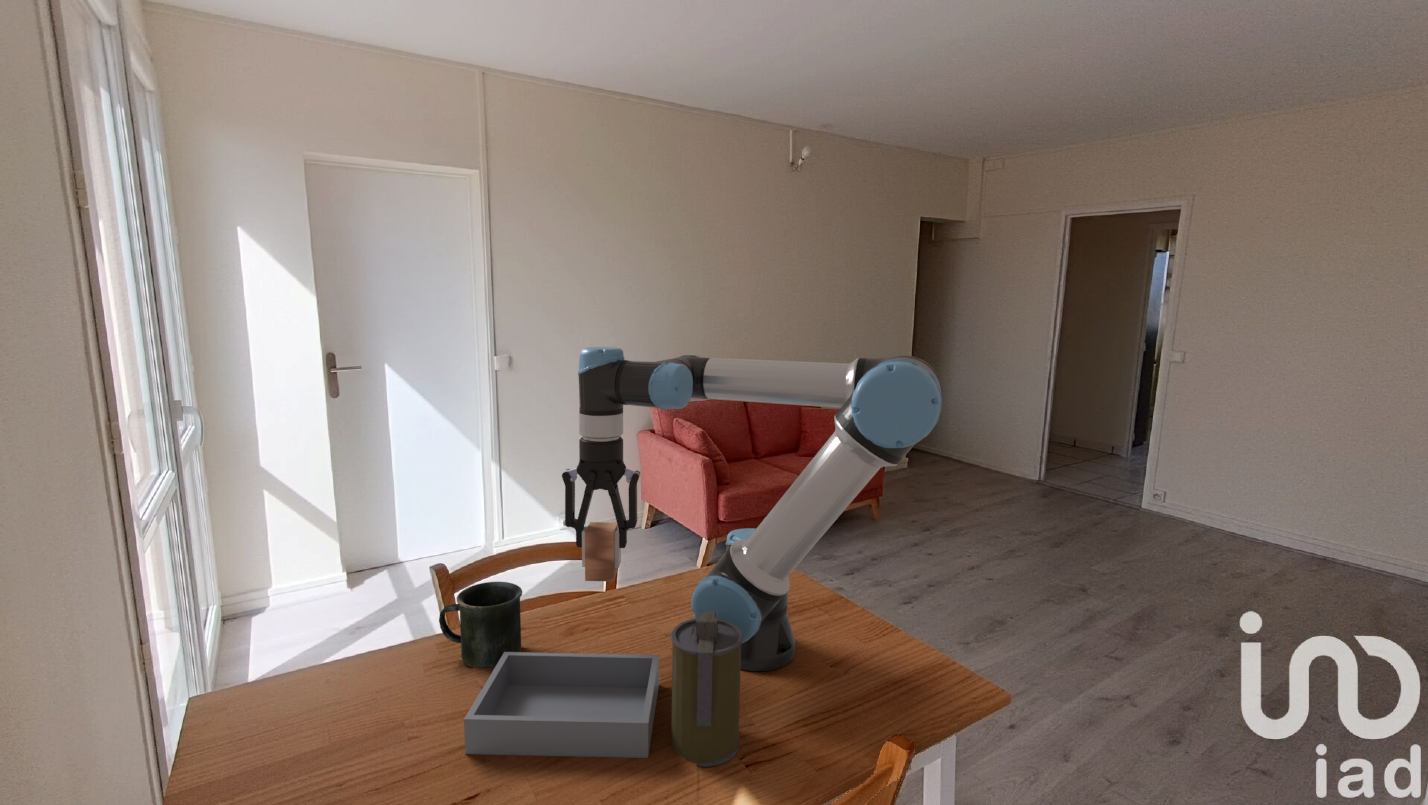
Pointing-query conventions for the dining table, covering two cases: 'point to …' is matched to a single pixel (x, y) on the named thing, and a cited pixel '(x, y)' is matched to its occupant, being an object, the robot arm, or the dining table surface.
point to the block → (600, 551)
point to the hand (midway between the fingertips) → (601, 564)
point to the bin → (565, 706)
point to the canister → (706, 689)
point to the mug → (486, 622)
